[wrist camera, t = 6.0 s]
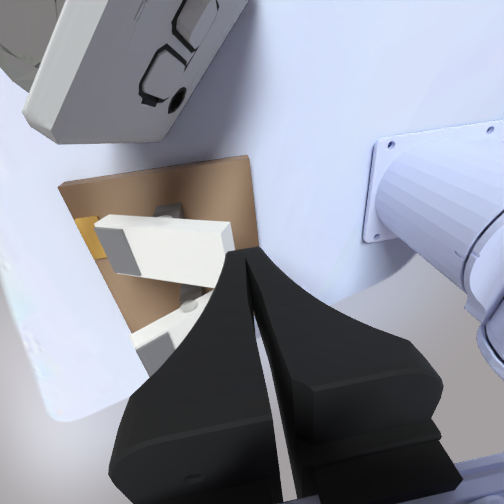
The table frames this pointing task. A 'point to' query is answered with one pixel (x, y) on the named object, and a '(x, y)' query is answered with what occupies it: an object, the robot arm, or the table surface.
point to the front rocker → (166, 247)
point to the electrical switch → (110, 63)
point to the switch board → (160, 187)
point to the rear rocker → (167, 333)
